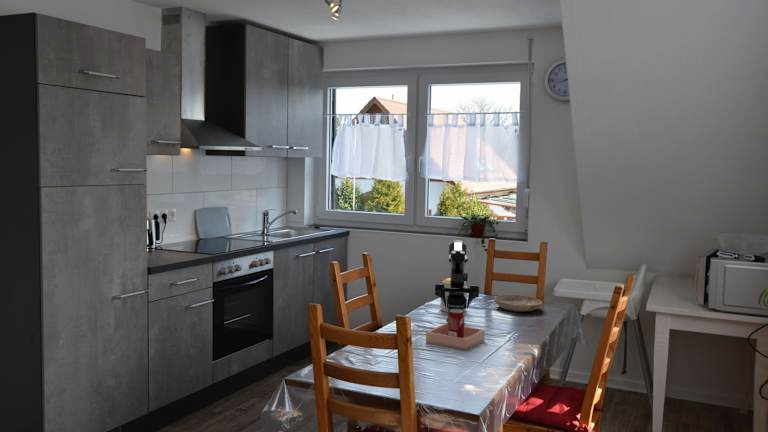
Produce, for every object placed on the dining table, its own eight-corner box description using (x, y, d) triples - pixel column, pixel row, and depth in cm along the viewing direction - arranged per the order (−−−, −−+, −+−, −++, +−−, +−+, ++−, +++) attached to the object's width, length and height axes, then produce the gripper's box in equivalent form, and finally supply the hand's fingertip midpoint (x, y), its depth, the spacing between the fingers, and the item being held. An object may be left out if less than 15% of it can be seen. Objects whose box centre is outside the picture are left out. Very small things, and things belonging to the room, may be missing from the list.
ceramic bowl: (513, 316, 328) (514, 306, 327) (484, 306, 348) (485, 296, 348) (551, 312, 338) (552, 302, 338) (521, 302, 359) (521, 293, 358)
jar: (470, 309, 340) (472, 274, 338) (459, 314, 329) (460, 278, 327) (447, 305, 347) (448, 271, 345) (435, 310, 336) (436, 275, 334)
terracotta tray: (425, 342, 280) (426, 332, 280) (445, 333, 295) (446, 323, 295) (466, 350, 271) (466, 339, 270) (484, 340, 286) (484, 329, 286)
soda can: (456, 342, 278) (457, 313, 277) (443, 338, 283) (444, 310, 282) (466, 339, 283) (468, 310, 282) (454, 335, 288) (455, 307, 287)
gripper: (435, 265, 294) (434, 296, 284) (479, 267, 292) (479, 298, 282) (435, 279, 303) (434, 310, 293) (478, 281, 301) (478, 312, 291)
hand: (456, 307), depth 290 cm, fingers open, 9 cm apart
